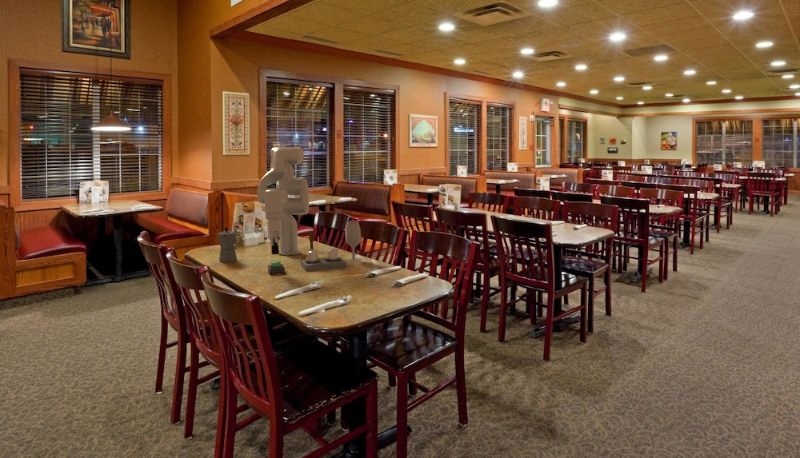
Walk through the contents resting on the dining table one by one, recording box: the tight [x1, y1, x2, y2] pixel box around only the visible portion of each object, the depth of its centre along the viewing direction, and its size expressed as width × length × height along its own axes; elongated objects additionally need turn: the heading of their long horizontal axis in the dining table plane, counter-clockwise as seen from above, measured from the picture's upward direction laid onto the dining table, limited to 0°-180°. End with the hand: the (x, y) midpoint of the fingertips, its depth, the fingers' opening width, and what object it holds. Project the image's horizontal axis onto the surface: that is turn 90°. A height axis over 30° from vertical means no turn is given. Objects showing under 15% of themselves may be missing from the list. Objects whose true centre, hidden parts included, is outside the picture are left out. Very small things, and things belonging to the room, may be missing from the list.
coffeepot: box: [216, 227, 238, 264], centre depth 267 cm, size 15×9×18 cm, turn 8°
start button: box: [270, 260, 282, 268], centre depth 242 cm, size 4×4×2 cm
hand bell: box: [304, 230, 320, 260], centre depth 265 cm, size 8×8×16 cm
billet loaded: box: [327, 248, 339, 262], centre depth 252 cm, size 5×5×8 cm
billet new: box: [306, 249, 319, 264], centre depth 248 cm, size 5×5×8 cm
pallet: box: [300, 256, 347, 272], centre depth 250 cm, size 12×20×4 cm, turn 112°
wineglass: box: [344, 220, 362, 263], centre depth 263 cm, size 9×9×21 cm
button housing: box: [267, 263, 286, 276], centre depth 242 cm, size 7×7×3 cm
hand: (275, 253), depth 240 cm, fingers closed
